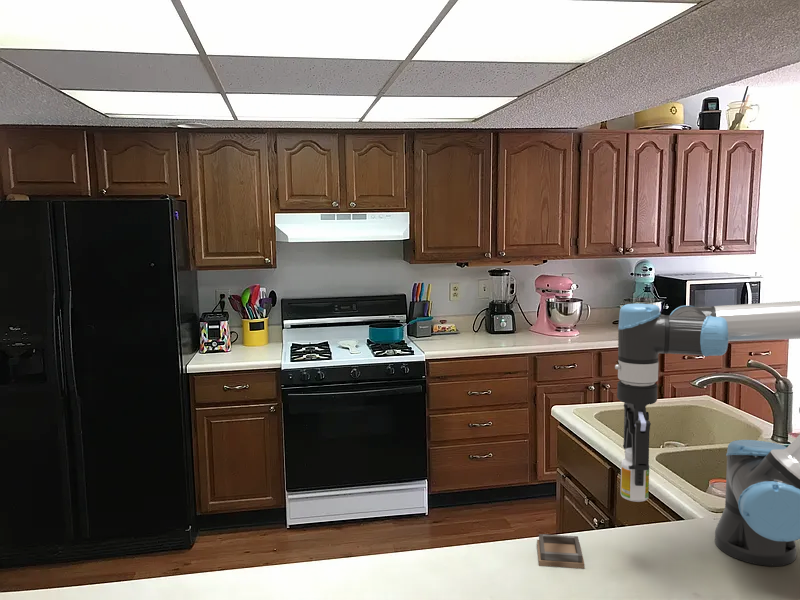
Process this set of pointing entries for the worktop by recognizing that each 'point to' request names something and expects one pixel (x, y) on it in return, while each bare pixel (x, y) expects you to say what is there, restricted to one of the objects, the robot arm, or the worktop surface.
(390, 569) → the worktop surface
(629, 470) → the supplement bottle
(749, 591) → the worktop surface
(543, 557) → the socket board
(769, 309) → the robot arm
